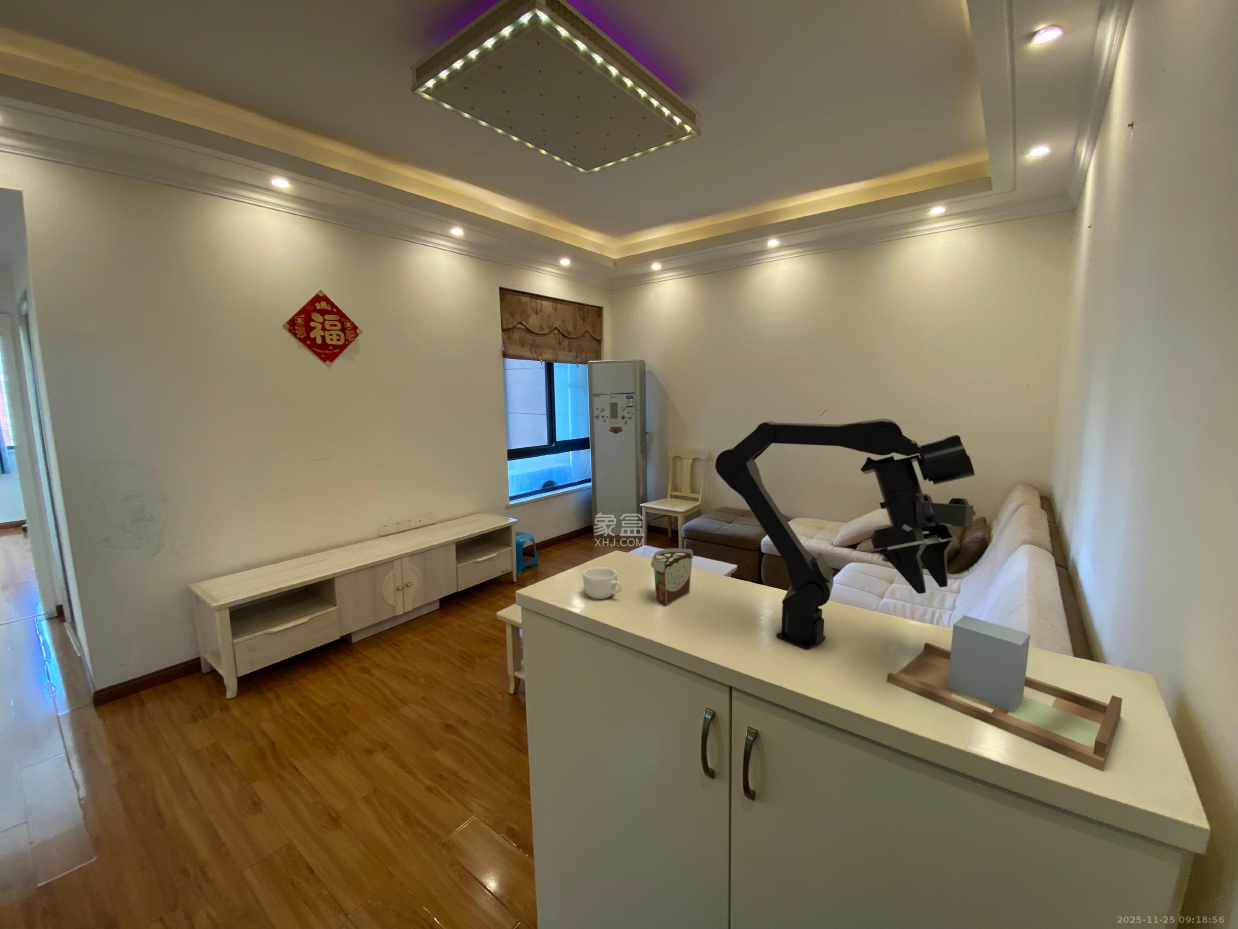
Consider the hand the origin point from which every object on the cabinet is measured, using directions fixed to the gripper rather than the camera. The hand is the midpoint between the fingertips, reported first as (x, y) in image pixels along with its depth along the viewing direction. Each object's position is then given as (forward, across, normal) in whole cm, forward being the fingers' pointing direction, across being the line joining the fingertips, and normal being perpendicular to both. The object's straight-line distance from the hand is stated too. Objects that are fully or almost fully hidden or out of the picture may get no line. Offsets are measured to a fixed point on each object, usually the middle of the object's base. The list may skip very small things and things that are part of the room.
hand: (933, 590), depth 77 cm
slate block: (+15, +3, -1) cm, 16 cm away
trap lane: (+17, +3, -2) cm, 17 cm away
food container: (-6, -6, +52) cm, 53 cm away
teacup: (-8, -17, +61) cm, 64 cm away
